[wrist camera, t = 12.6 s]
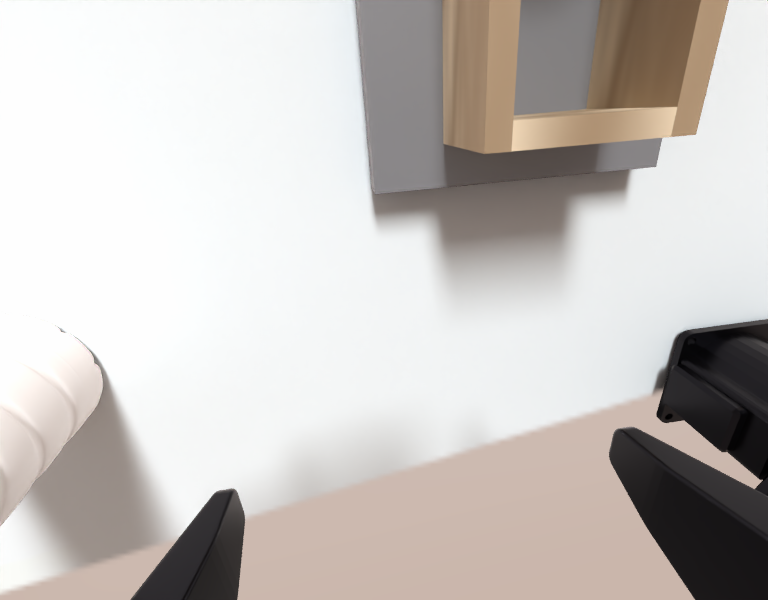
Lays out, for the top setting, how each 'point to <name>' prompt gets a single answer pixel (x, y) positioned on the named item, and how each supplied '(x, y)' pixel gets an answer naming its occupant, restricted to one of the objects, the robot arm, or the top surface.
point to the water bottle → (39, 400)
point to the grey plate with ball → (425, 97)
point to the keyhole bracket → (607, 81)
